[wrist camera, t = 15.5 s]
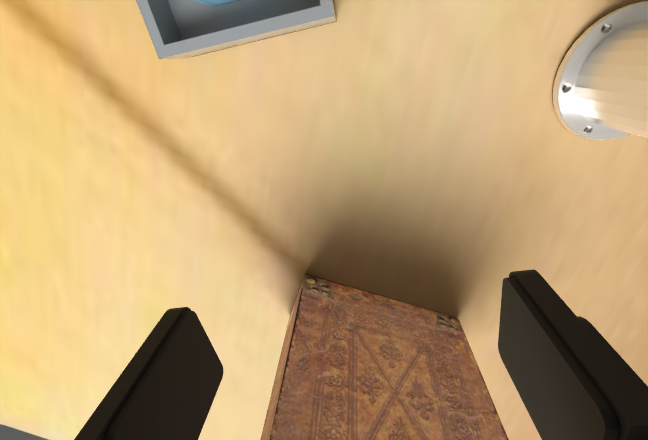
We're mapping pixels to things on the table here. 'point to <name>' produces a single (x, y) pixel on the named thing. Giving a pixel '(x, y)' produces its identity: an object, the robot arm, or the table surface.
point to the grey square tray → (226, 23)
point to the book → (375, 372)
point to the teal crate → (216, 2)
